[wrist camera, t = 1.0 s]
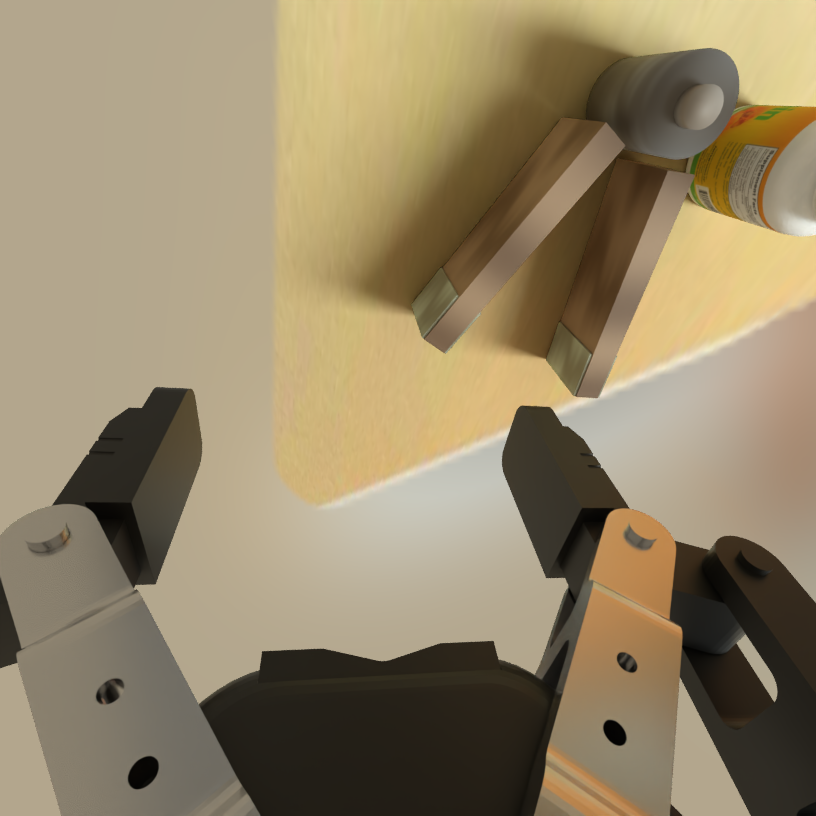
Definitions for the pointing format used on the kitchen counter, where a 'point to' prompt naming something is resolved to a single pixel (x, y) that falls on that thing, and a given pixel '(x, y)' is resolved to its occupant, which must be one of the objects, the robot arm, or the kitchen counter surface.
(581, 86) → the kitchen counter surface
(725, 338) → the kitchen counter surface
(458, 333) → the tong arm
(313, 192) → the kitchen counter surface
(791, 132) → the supplement bottle
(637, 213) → the tongs frame
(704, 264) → the kitchen counter surface
